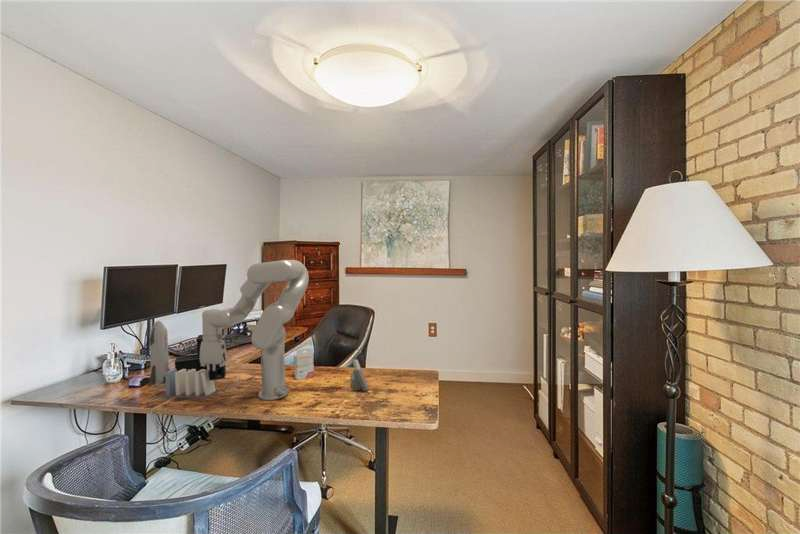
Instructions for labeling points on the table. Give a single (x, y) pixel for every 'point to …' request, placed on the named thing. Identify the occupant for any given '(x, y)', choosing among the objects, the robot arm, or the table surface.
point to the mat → (190, 395)
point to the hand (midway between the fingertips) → (213, 379)
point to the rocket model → (158, 353)
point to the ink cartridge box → (304, 363)
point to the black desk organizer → (197, 361)
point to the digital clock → (358, 378)
